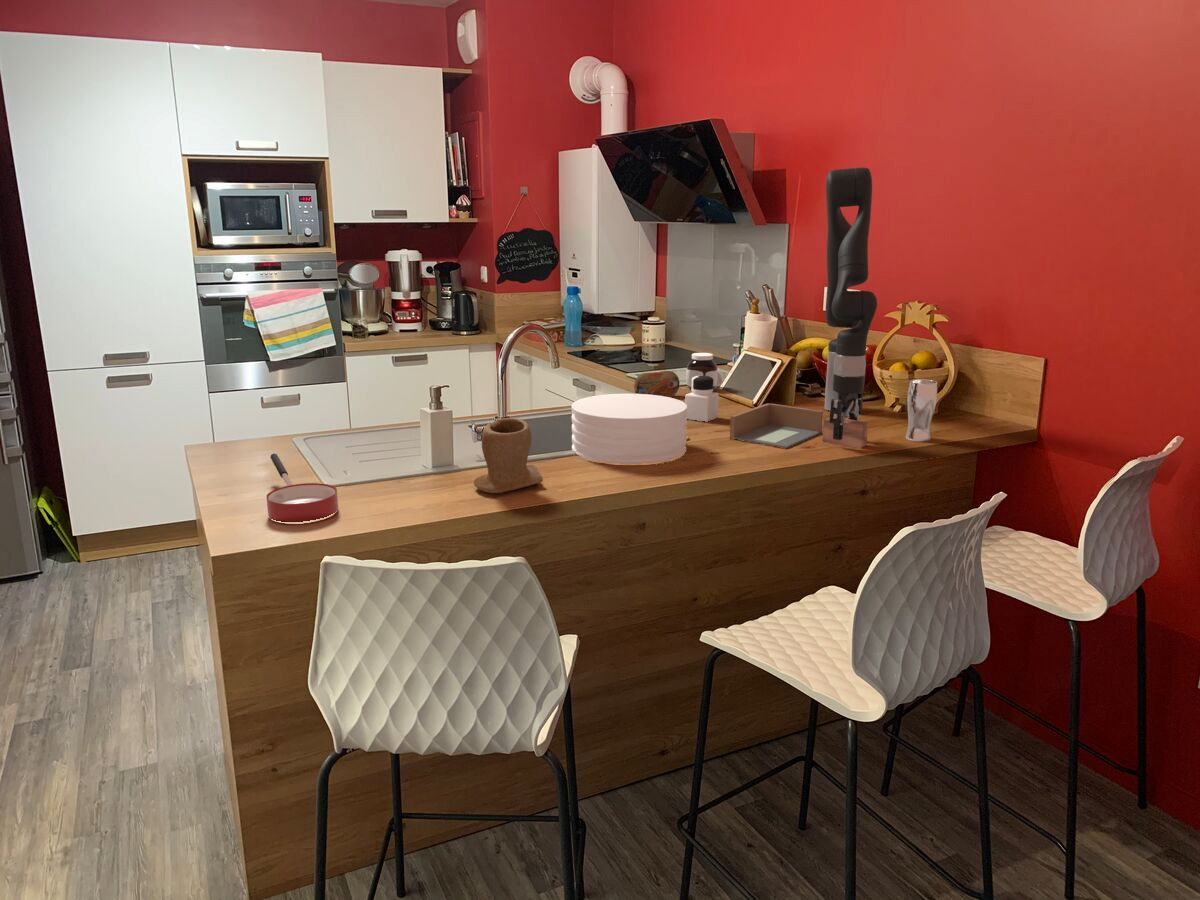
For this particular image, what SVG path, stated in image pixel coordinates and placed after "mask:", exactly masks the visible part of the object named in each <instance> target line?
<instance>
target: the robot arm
mask: <svg viewBox="0 0 1200 900" xmlns="http://www.w3.org/2000/svg"><path fill="white" fill-rule="evenodd" d="M825 182H826V183H825V199H826V211H827V212H826V214H827V215H826V216H827V239H826V240H827V242H826V270H827V272H826V274H827V275H826V277H827V285H826V287H827V288H826V298H825V299H826V300H825V301H826V302H825V315H824V316H825V321H826V322H825V323H826V324H827V326H829V327H831V328H841V330H840V331H839V332H838V333H837V335H836V336H837V337H836V338H833V339H831V340H830V341H829V342H828V347H827V348H828V349H827V350H828V351H827V364H826V377H825V380H826V381H825V392H824V393H825V394H824V410H825V411H828V410H829V417H830V420H829V422H830V423H832V424H834V428H833V439H835V440H841V439H842V437H843V423H844V421H845V419H850V420H857V421H858V419H859V418H860V416H861V415H862V414H863V402H864V401H863V400H864V393H863V392H864V391H865V389H864V388H865V379H866V366H867V365H866V364H867V363H866V353H867V340H868V335H869V333H870V332H869V330H870V328H871V324H872V323H873V319H874V317H875V315H876V311H877V309H878V298H877V296H876V294H875V293H874V292H873V291H871V290H848V289H849V288H850V287H855V286H859V285H863V284H864V283H866V282H867V280H868V279H869V253H868V252H869V251H868V250H869V249H868V248H869V233H870V227H871V214H872V213H871V212H872V200H873V199H872V198H873V177H872V173H871V171H870V169H869V168H868V167H851V168H839V169H833V170H830V171H829V172H828V174H827V176H826V181H825ZM842 207H843V208H845V207H847V208H848V207H858V209H857V214H856V217H855V220H854V221H853V223H852V225H851V224H850V222H849V221H848V220H847V219H846V217H845V216H844V213H843V212H842V210H841V208H842ZM843 328H845V329H843ZM842 329H843V330H842ZM833 417H834V418H833Z"/></svg>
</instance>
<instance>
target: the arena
mask: <svg viewBox="0 0 1200 900" xmlns="http://www.w3.org/2000/svg"><path fill="white" fill-rule="evenodd" d="M823 413H824V411H823V410H819V409H818V410H817V409H809V408H805V407H804V408H803V407H799V406H798V407H795V406H790V405H784V404H783V405H782V404H778V403H777V404H776V403H770V402H767V403H764V404H762V405H759V406H756V407H753V408H750V409H747V410H744V411H742V412H738V413H735V414H733V415H730V425H729V439H730V438H734V439H739V440H744V441H743V442H745V441H750V442H755V443H754V444H756V443H760V444H759V445H761V444H765V445H764V446H767V445H772V446H771V447H773V446H778V447H783V448H782V449H784V448H787V449H789V448H791V447H790V446H792V445H794V446H796V445H798V444H800V443H799V442H801V443H803V442H805V441H807V440H810V439H812V438H814V437H816V435H817V436H819V435H821V434H822V433H823V415H824V414H823ZM820 433H821V434H820ZM818 434H819V435H818ZM813 436H814V437H813ZM811 437H812V438H811ZM809 438H810V439H809ZM806 439H807V440H806ZM739 440H738V441H739ZM804 440H805V441H804ZM802 441H803V442H802ZM750 442H749V443H750ZM797 443H798V444H797ZM795 444H796V445H795ZM778 447H777V448H778ZM788 447H789V448H788ZM792 447H793V446H792Z"/></svg>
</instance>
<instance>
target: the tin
mask: <svg viewBox="0 0 1200 900" xmlns="http://www.w3.org/2000/svg"><path fill="white" fill-rule="evenodd" d="M633 388H634V394H649V395H658V396H665V397H670V398H673V397H674V396H675V395H676V394H677V393H678V391H679V389H680V378H679V377H678V375H677V374H676V373H675V372H673V371H671V370H662V371H659V370H658V371H650V372H643V373H640V374H639V375H638V376H637V377H636V379H635V380H634V383H633Z"/></svg>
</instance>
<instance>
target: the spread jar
mask: <svg viewBox="0 0 1200 900" xmlns="http://www.w3.org/2000/svg"><path fill="white" fill-rule="evenodd" d="M713 359H714V354H713V353H710V352H694V353H692V354H691V360H690V361H689V362H688V364H687V365H686V366H687V367H686V371H685V373H686V374H685V379H686V380H685V383H686V386H687V387H688V388H689V390H691V387H692V378H693V377H695V376H710V377H712V378H713V390H714V389H715V388H717V387H719V386H720V385H722V384H723V382H724V374H723V372H722V371H721V370H720V368H718V365H717V363H716V362H715V361H714V360H713Z"/></svg>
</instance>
